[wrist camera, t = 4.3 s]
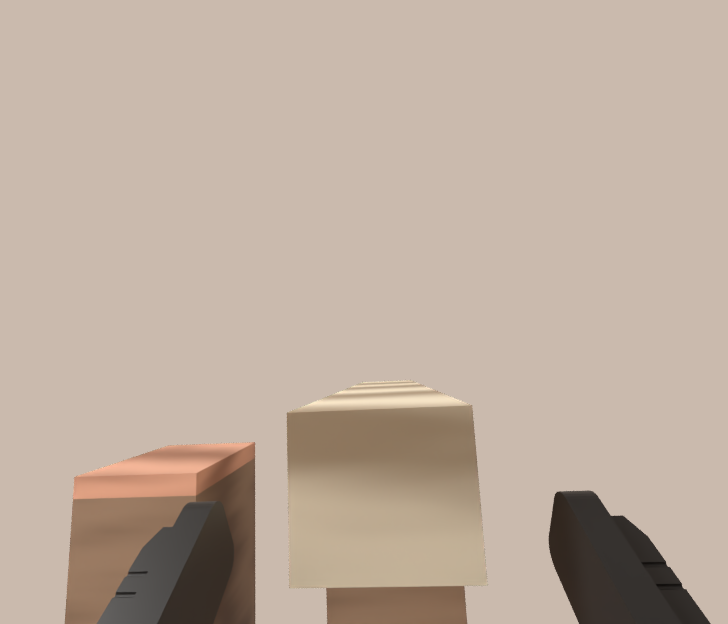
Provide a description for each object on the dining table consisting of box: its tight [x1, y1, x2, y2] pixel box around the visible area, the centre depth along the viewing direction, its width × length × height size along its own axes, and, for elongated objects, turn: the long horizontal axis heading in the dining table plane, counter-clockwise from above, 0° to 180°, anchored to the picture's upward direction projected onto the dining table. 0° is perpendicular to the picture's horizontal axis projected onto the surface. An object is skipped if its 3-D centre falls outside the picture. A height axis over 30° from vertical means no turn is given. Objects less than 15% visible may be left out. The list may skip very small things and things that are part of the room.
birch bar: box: [287, 380, 488, 588], centre depth 20 cm, size 24×4×4 cm, turn 176°
